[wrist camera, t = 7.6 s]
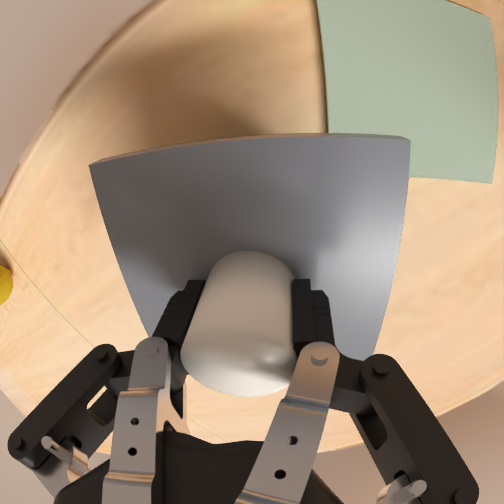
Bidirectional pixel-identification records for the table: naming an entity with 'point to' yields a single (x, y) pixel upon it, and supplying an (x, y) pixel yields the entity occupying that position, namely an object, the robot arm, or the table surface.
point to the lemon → (5, 283)
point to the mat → (414, 81)
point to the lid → (258, 242)
